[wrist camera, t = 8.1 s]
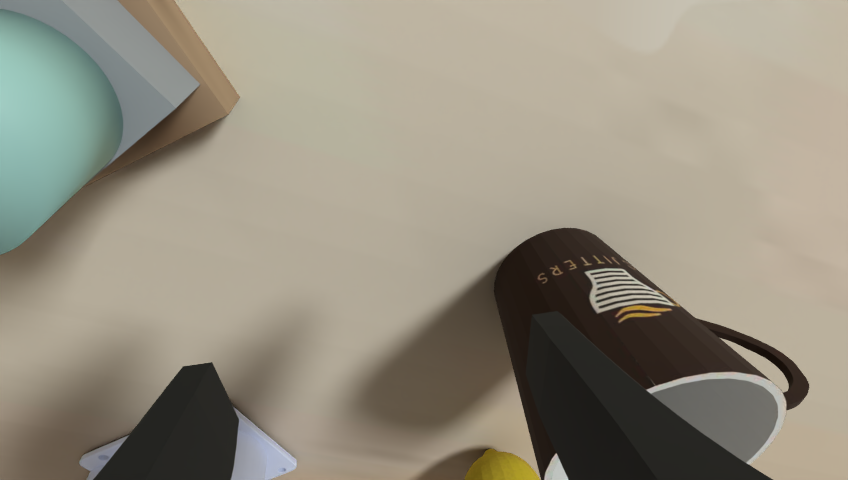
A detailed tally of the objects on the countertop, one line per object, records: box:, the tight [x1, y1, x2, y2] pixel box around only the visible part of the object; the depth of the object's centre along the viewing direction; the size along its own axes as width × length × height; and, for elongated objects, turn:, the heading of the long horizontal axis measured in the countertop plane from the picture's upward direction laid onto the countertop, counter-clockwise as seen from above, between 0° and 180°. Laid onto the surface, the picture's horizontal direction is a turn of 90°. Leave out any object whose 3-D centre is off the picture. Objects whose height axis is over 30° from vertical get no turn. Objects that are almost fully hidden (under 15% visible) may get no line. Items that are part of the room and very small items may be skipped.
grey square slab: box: [0, 0, 200, 186], centre depth 12 cm, size 5×5×2 cm
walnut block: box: [82, 0, 240, 188], centre depth 15 cm, size 6×6×2 cm
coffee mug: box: [494, 228, 809, 480], centre depth 20 cm, size 12×9×10 cm
